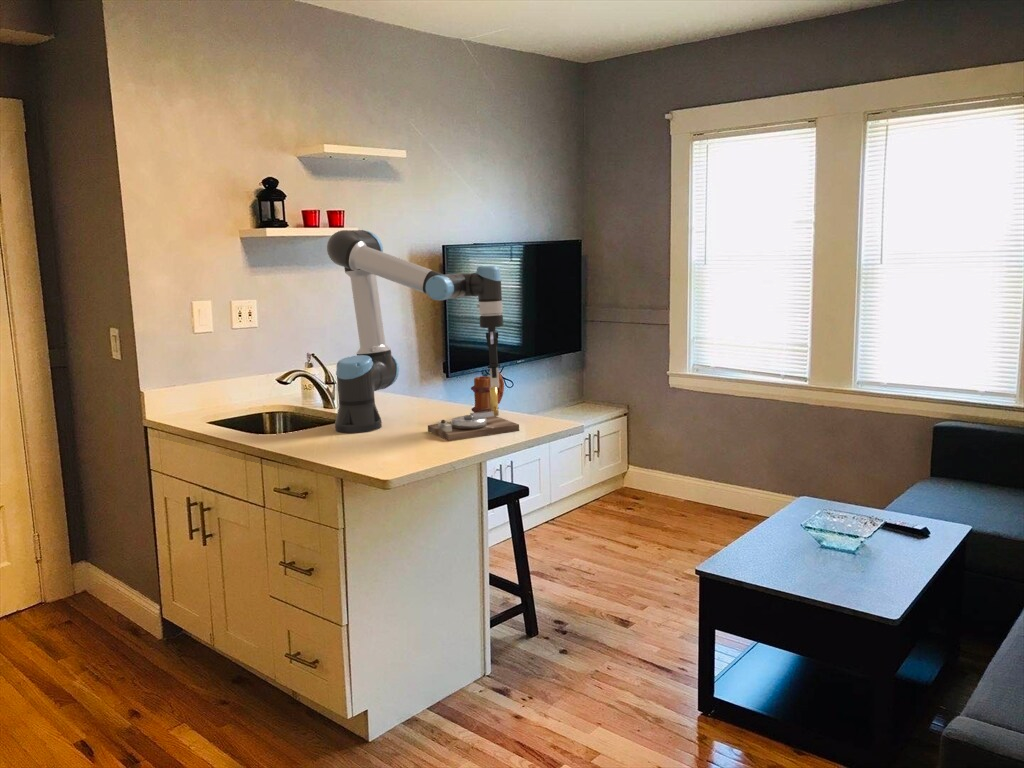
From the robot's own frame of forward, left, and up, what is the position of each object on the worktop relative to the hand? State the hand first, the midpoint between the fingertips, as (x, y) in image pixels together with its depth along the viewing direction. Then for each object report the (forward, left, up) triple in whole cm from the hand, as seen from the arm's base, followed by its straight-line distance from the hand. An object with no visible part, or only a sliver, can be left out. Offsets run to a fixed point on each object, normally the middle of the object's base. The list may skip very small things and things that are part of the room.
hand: (495, 387), depth 268 cm
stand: (+4, -10, -13) cm, 16 cm away
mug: (-13, +4, -13) cm, 19 cm away
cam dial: (+5, -10, -10) cm, 15 cm away
